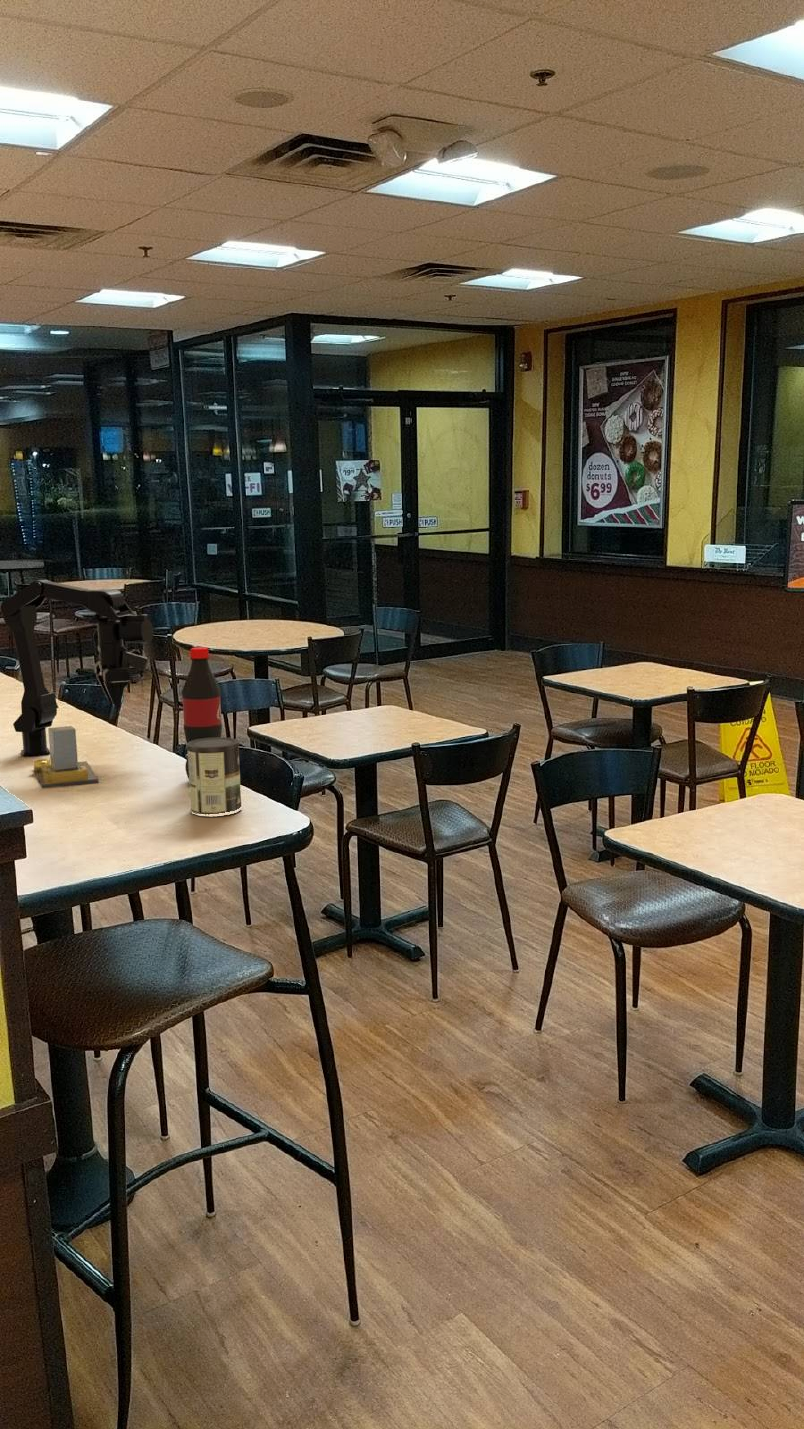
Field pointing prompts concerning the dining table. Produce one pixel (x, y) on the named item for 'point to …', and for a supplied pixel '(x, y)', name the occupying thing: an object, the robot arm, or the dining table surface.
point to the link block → (63, 749)
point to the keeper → (63, 775)
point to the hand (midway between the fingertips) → (114, 705)
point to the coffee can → (214, 775)
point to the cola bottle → (201, 700)
